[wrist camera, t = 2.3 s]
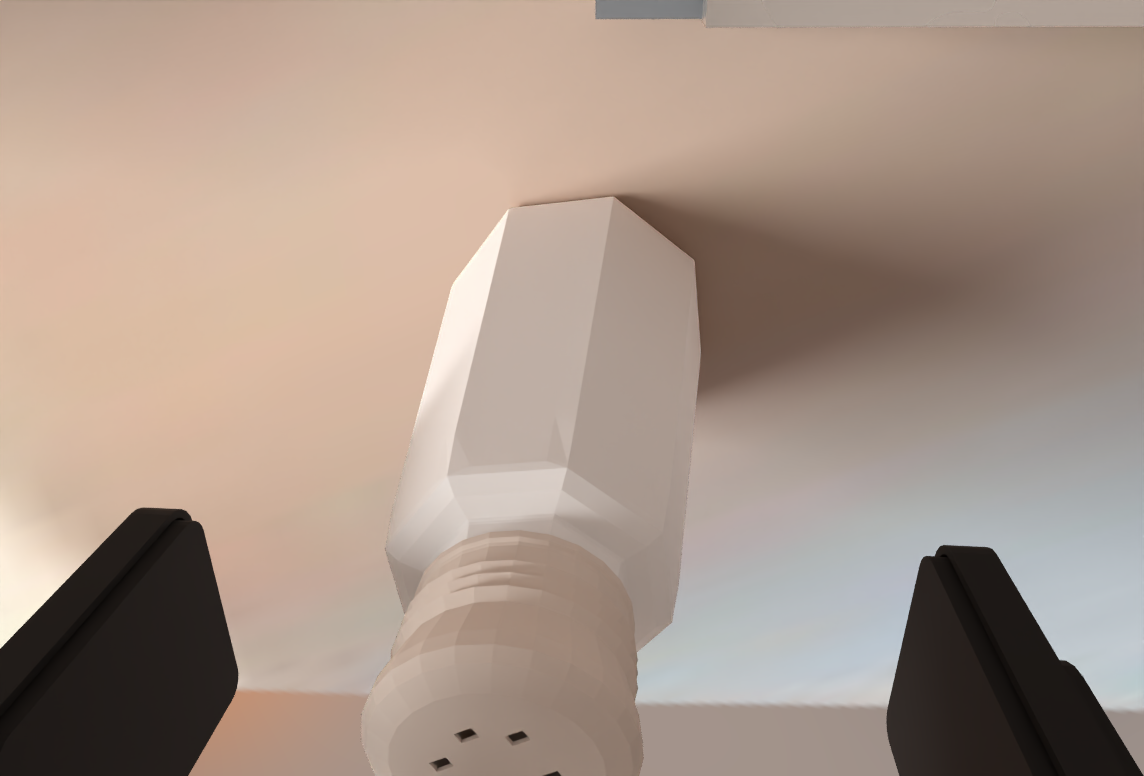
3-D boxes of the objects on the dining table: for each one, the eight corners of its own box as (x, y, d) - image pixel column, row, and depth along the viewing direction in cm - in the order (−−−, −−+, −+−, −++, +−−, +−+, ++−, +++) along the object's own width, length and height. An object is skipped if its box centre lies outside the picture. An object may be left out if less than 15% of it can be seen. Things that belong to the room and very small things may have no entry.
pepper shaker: (750, 363, 18) (873, 862, 8) (536, 460, 19) (426, 974, 10) (630, 137, 16) (607, 448, 6) (401, 267, 17) (98, 675, 8)
